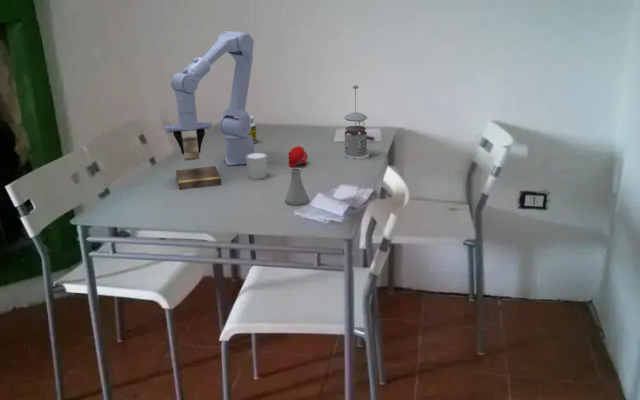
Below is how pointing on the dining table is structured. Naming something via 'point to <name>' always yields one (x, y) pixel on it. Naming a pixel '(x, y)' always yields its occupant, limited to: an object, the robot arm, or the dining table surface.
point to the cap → (297, 156)
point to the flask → (296, 189)
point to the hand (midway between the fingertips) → (191, 152)
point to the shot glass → (256, 165)
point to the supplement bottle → (252, 129)
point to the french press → (355, 134)
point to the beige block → (190, 148)
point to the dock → (198, 177)
